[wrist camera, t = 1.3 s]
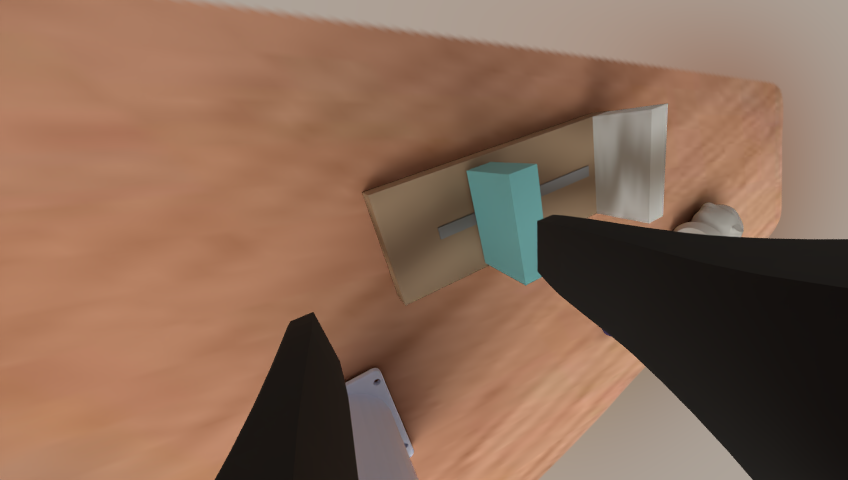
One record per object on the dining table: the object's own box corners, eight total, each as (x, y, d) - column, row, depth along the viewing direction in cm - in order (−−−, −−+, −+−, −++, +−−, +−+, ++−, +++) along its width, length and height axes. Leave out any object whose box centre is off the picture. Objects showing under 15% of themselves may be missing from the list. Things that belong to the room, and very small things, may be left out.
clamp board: (595, 203, 26) (665, 214, 21) (398, 296, 21) (431, 339, 16) (591, 113, 23) (670, 102, 19) (362, 192, 18) (389, 206, 13)
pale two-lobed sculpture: (700, 203, 35) (706, 246, 35) (659, 209, 32) (666, 256, 32) (751, 196, 31) (758, 245, 31) (711, 202, 28) (718, 256, 28)
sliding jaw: (506, 252, 21) (549, 272, 18) (485, 263, 21) (525, 285, 17) (490, 161, 19) (536, 163, 15) (466, 170, 18) (508, 174, 15)
